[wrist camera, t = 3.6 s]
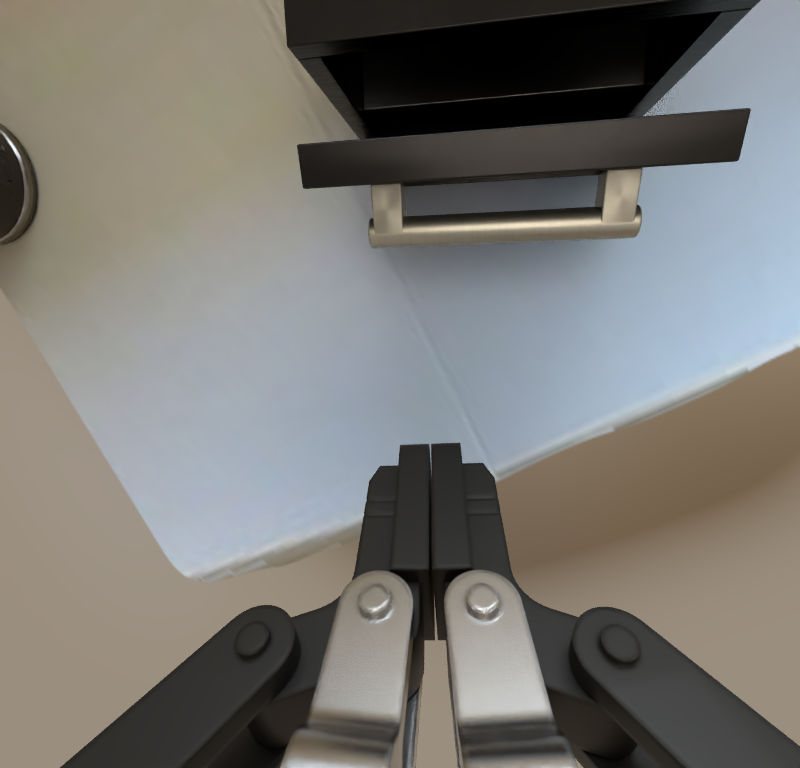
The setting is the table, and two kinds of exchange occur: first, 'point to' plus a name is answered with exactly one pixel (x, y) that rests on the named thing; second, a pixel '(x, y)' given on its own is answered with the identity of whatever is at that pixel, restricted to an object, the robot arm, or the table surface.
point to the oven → (499, 58)
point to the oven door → (521, 173)
